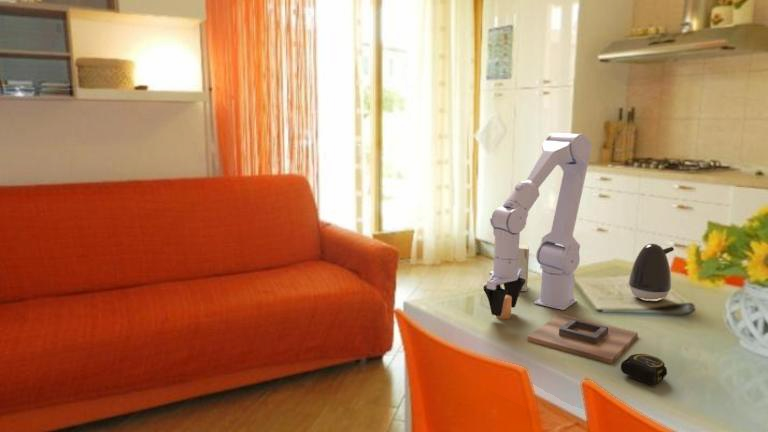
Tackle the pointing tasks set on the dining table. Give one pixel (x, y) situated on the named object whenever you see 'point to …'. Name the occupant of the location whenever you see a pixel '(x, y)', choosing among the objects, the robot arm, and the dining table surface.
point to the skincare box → (523, 263)
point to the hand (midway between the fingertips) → (503, 310)
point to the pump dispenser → (651, 273)
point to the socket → (584, 337)
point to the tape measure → (644, 368)
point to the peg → (506, 308)
